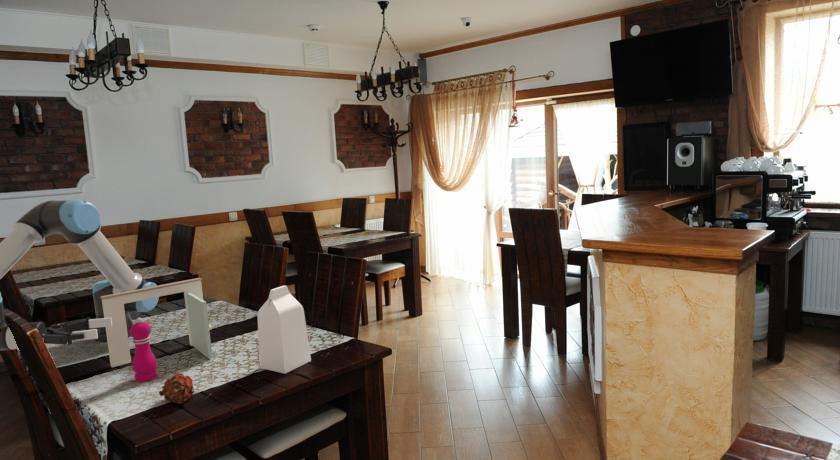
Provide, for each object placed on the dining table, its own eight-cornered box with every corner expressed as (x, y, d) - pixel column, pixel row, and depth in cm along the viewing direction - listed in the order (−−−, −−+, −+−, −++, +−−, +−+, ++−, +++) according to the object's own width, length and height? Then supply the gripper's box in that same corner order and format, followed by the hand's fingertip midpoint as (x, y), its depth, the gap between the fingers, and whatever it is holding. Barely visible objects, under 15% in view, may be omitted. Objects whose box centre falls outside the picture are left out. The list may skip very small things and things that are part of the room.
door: (208, 358, 192) (202, 302, 189) (192, 344, 207) (186, 292, 205) (216, 356, 193) (210, 300, 190) (199, 343, 209) (193, 291, 206)
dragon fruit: (184, 414, 155) (172, 407, 164) (206, 388, 159) (193, 383, 168) (161, 395, 151) (150, 389, 160) (184, 370, 155) (172, 365, 165)
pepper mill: (163, 375, 180) (156, 315, 177) (144, 384, 174) (136, 322, 171) (148, 372, 183) (140, 313, 180) (128, 381, 177) (120, 320, 174)
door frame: (109, 366, 191) (100, 296, 188) (206, 340, 214) (199, 277, 210) (111, 367, 189) (102, 297, 186) (208, 341, 212) (202, 278, 208)
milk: (285, 373, 176) (277, 293, 172) (259, 367, 182) (252, 290, 179) (311, 360, 186) (304, 284, 183) (286, 355, 192) (279, 282, 189)
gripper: (47, 335, 181) (118, 328, 186) (9, 361, 157) (91, 352, 162) (44, 313, 181) (115, 306, 185) (5, 335, 156) (88, 327, 161)
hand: (104, 327), depth 173 cm, fingers open, 13 cm apart
